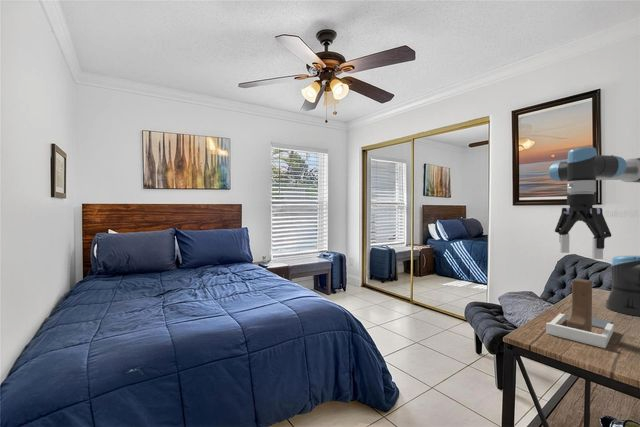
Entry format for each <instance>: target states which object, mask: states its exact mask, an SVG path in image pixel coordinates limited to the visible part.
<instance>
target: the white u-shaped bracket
mask: <svg viewBox="0 0 640 427" xmlns="http://www.w3.org/2000/svg"><path fill="white" fill-rule="evenodd" d="M565 316H566V315H565V313H561V312H560V313H558V314H557V315H556V316H555V317H554V318H553V319H552V320H551V321H550V322H546V324H545V334H547V335H552V336H554V337H559V338H563V339H566V340H571V341H574V342H579V343H582V344H586V345H591V346H594V347H599V348H601V349H606V348H607V346H608V344H609V341H610V340H611V337H612V335H613V333H614V329H615V328H614V327H615V326H614V323H611V324H610V323H607V325H606V327H605V329H603V330H602V333H601V334H600V333H595V332H592V331H591V332H588V331H583V330H579V329H575V328H570V327H567V325H566V326H565V325H562V324H563V323H564V322H565V319H566V317H565Z"/></svg>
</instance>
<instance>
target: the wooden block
mask: <svg viewBox="0 0 640 427" xmlns="http://www.w3.org/2000/svg"><path fill="white" fill-rule="evenodd" d="M570 314H571V317H570V319H569V320H568V321H566V322H567V323H566V324H567V325H566V327H570V328H575V329H579V330H583V331H588V332H592V328H593V326H592V317H593V315H592V314H593V281H592V280H589V279H584V278H574V279H572V281H571V312H570Z"/></svg>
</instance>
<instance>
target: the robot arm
mask: <svg viewBox="0 0 640 427" xmlns="http://www.w3.org/2000/svg"><path fill="white" fill-rule="evenodd" d="M567 152H568V153H567V160H566V161H558V162H556V163H553V164H551V166H550V167H549V168H548V176H549V179H551V180H552V181H554V182H565V181H567V188H566V193H567V195H566V205H567V206H569V207H562V208H561V214H560V216H559V218H558V222H557V225H556V226H555V229H554V232H555V233H558V234H559V252H560V253H561V254H565V253H566V254H569V253H570V233H569V232H570V231H571V230H572V228H573V227H574V225H575V224H576V223H577V222H583V223H585V224H586V226H587V228H588V229H589V230H590V232H591V234H592V235H593V237H592V242H591V243H592V247H591V248H592V251H591V252H592V253H591V256H592V257H591V259H594V260H603V259H604V249H605V239H606V238H611V237H612V233H611V230H610V228H609V226H608V223H607V221H606V219H605V216H604V215H603V208H602V207H593V206H595V205H596V203H597V200H596V199H597V195H596V194H595V193H597V181H607V180H608V181H612V180H613V181H614V180H615V181H616V180H617V181H619V180H620V181H622V182H625V183H640V157H637V158H626V159H624V157H622V156H617V155H613V154H612V155H605V154H602V155H601V154H600V155H599V154H598V153H597V148H596V147H592V146H590V147H589V146H588V147H579V148H577V147H576V148H572V149H571V150H569V151H567ZM610 267H611V288H610V289H611V290H610V292H609V295H608V298H607V300H606V301H605V307H606V309H608V310H611V311H612V312H618V313H620V314H625V315H629V316H630V315H631V316H636V317H640V255H615V256H613V257H612V259H611V265H610Z"/></svg>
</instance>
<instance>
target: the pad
mask: <svg viewBox="0 0 640 427" xmlns="http://www.w3.org/2000/svg"><path fill="white" fill-rule="evenodd" d="M570 317H571V313H569V315H567V317H565V321H566V322H568V320H569V319H570ZM565 321H564V322H565ZM612 322H613V321H612V320H608V319H603V318H598V317H593V316H592V328H593V327H594V328H598V329H601V330H604V329H605V327H606V325H607V323H610V324H613V323H612Z"/></svg>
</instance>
